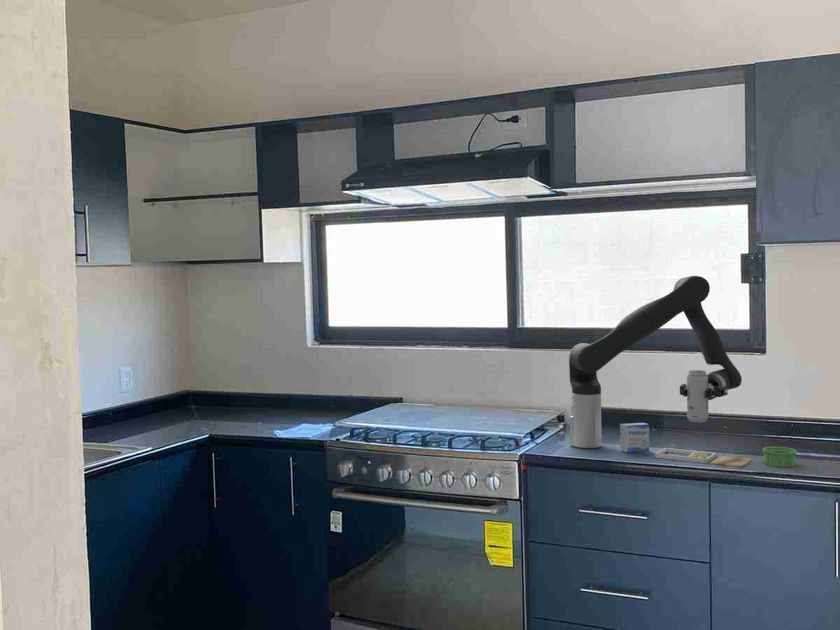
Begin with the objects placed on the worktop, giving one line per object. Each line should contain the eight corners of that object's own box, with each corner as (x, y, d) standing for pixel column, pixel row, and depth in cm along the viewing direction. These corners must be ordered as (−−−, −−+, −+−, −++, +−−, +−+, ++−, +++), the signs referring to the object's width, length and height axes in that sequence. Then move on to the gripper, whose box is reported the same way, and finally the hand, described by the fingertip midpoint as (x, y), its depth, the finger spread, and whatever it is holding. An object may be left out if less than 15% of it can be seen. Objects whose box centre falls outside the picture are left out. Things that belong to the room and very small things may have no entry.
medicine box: (626, 453, 258) (626, 425, 258) (619, 450, 262) (619, 423, 262) (649, 451, 260) (649, 424, 260) (642, 448, 264) (642, 421, 264)
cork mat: (710, 464, 242) (710, 462, 242) (720, 456, 251) (720, 455, 251) (742, 467, 237) (742, 466, 237) (751, 460, 246) (751, 458, 246)
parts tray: (654, 457, 251) (654, 453, 251) (665, 451, 260) (665, 447, 260) (706, 463, 243) (706, 458, 242) (716, 456, 251) (716, 452, 251)
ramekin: (757, 465, 240) (757, 450, 240) (770, 459, 246) (770, 445, 246) (789, 470, 233) (789, 454, 233) (801, 464, 240) (801, 449, 240)
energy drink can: (685, 419, 253) (685, 370, 252) (706, 419, 252) (705, 369, 251) (689, 422, 247) (688, 372, 246) (710, 422, 246) (709, 372, 245)
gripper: (687, 373, 264) (671, 380, 250) (734, 375, 256) (720, 382, 242) (687, 396, 265) (671, 404, 251) (734, 399, 257) (720, 408, 243)
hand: (695, 393), depth 247 cm, fingers closed on energy drink can, 6 cm apart
